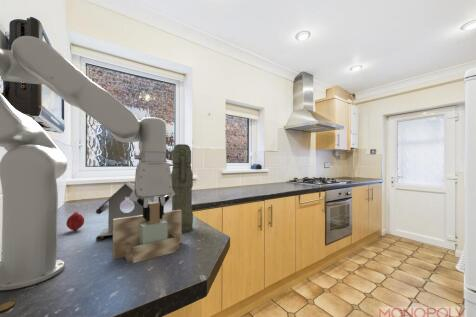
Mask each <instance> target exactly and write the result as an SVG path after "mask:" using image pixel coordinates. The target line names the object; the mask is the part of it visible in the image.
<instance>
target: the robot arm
mask: <svg viewBox="0 0 476 317" xmlns="http://www.w3.org/2000/svg"><path fill="white" fill-rule="evenodd" d="M0 76H1V79H2V80H1V81H4V82H15V83H24V84H31V85H33V84H34V85H43V86H45V87H47V88H48V89H49V90H51V91H52V92H53V93H54V94H56V95H57V96H58V97H59V98H60V99H62V100H63V102H64V101H65V102H66V103H67V104H69V105H71V106H73V107H76V108H78V109H79V110H81V111H83V112H84V113H85V114H87V115H88V116H90V117H91V118H92V119H94V120H95V121H96V122H98V123H99V125H101V126H102V127H104V128H105V129H106V130H107V131H108V132H110V133H111V135H112V137H113V138H114V139H115V140H116V141H118V142H121V143H135V142H136V143H137V142H139V153H137V154H134V156H133V157H134V160H136V161H137V160H138V162H139V163H137V165H136V169H135V176H134V184H133V185H134V190H133V192H132V194H131V195H130V197H128V198H129V200H130V201H131V200H132V201H131V202H133V201H135V202H138V203H139V204H140V205H141V206H143V218H145V220H146V221H149V220H150V208H149V207H148V199H149V197H154V198H155V197H157V199H158V201H157V202H159V203H160V219H162V215H164V212H165V207H164V206H165V205H166V203H168V201H169V200H170V199H172V197H173V196H174V195H175V193H174V191H173V189H172V179H171V173H172V171H171V166H170V163H169V162H167V123H166V122H165V120H164V119H162V118H160V117H159V118H158V117H152V116H151V117H143V118H142V119H140V120H139V118H138V117H137V116H136V114H135V113H133V111H131V110H130V109H129V108H128V107H127V106H125V105H124V104H123V103H122V102H121V101H120V100H118V99H117V98H116V97H115V96H114V95H112V94H111V93H110V92H109V91H108V90H106V89H104V88H103V87H101V86H100V85H99V84H97V82H94V81H93V80H92V79H90V78H89V77H88V76H87V75H86V74H84V73H83V72H82V71H81V70H79V69H78V67H76V66H75V65H73V63H71V62H70V61H69V60H68V59H67V58H65V57H64V55H62V54H61V53H60V52H59V51H58V50H57V49H55V48H54V46H51V45H50V44H49V43H48V42H46V41H45V40H42V39H41V38H38V37H36V36H33V35H32V36H31V35H23V36H19V37H17V38H15V39H14V40H13V42H12V44H11V47H10V49H9V50H8V49H5V48H1V47H0ZM0 147H3V148H4V149H5V151H6V153H5V154H3V155H2V157H1V160H0V184H1V192H2V193H1V194H2V222H1V223H2V230H1V255H0V256H1V258H0V291H9V290H16V289H22V288H26V287H29V286H33V285H36V284H39V283H42V282H44V281H47V280H48V279H51V278H53V277H55V276H57V275H58V274H60V273H61V272H62V271H63V270H64V269H65V261H64V260H62V259H57V258H58V219H59V217H58V216H59V215H58V214H59V213H58V211H59V204H58V202H59V199H58V197H59V196H58V195H59V194H58V193H59V192H58V184H57V179H59V178H60V177H62V176H63V175H64V174H65V173H66V170H67V169H68V161H67V158H66V156H65V155H64V153H63V152H62V150H60V148H59V147H58V146H57V145H56V143H55V142H54V141H53V140H52V139H51V137H50V136H49V135H48V134H47V132H46V131H45V130H44V129H43V127H42V126H41V125H40V124H39V123H38V122H36V121H35V120H34V119H33V118H32V117H30V116H29V115H27V114H24V113H22V112H21V111H19V110H17V109H16V108H15V107H14V106H13V105H11V103H10V102H9V101H8V99H6V98H5V97H4V95H3V94H2V93H1V92H0ZM136 195H137V196H139V197H142V200H141V199H140V198H137V197H136Z"/></svg>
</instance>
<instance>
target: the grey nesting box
mask: <svg viewBox="0 0 476 317" xmlns="http://www.w3.org/2000/svg"><path fill="white" fill-rule="evenodd" d="M134 185H135V184H133V183H131V182H130V181H128V182H126V183H124V184H123V185H122V186H121V187H120V188H119V189H118V190H116V191H115V192H114V194H112V195H111V196H110V197H109V198H107V200H106V201H105V202H103V204H102V205H100V206H99V207H98V208H97V209H96V210H95V214H96V215H101V214H102V213H103V212H105V211H106V210H108V218H107V219H108V222H107V223H108V224H107V225H108V228H104V229H103V230H101V232H100V233H99V234H98V235H97V236H96V237H95V241H96V242H100V241H102V240H103V238H105V236H106V237H107V236H113V219H116V218H123V217H131V216H138V215H143V206H141V205H140V204H139V203H138V202H135V201H132V200H130V201H131V202H133V205H134V207H133V209H132V210H131V211H129V212H124V211H122V209H121V204H122V203H123V202H124V201H125V200H126V197H127V198H129V197H130V195H131V194H132V192H133V190H134ZM136 197H137V198H140V199H141V200H142V197H139V196H137V195H136ZM151 202H152V201H151V200H150V199H148V203H151ZM107 203H108V204H107Z"/></svg>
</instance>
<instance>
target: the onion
mask: <svg viewBox="0 0 476 317" xmlns="http://www.w3.org/2000/svg"><path fill="white" fill-rule="evenodd" d="M84 223H85V217H84V216H83V215H82V214H81V213H79V211H77V210H76V211H74V212H73V214H71V215H70V216H68V218H67V219H66V227H67V228H68V229H69V230H71V231H74V232H76V231H78V230H79V229H81V228H82V226H84Z"/></svg>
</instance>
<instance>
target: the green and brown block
mask: <svg viewBox="0 0 476 317" xmlns="http://www.w3.org/2000/svg"><path fill="white" fill-rule="evenodd" d="M148 207H149V208H150V220H149V221H147V222H145V223H140V245H143V244H148V243H152V242H157V241H161V240H166V239H167V222H166V221H165V220H160V203H159V201H154V202H151V203H148Z"/></svg>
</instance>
